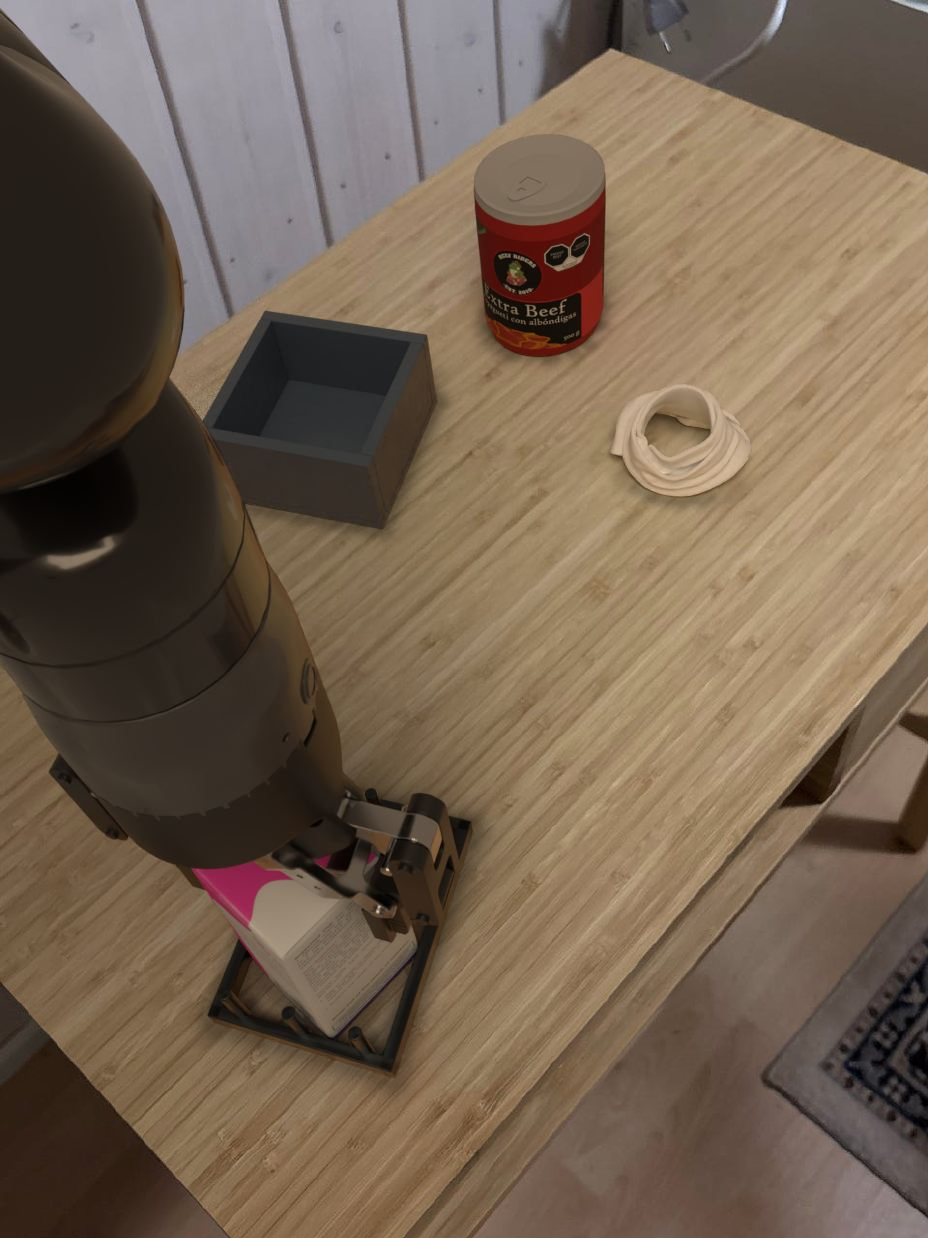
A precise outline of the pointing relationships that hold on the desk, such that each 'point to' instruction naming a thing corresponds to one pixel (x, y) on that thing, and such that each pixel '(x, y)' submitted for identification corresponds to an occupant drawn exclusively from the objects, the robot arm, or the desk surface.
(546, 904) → the desk surface
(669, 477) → the cream coiled cloth
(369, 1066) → the dish rack
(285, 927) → the supplement box
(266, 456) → the dark grey storage bin
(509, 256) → the canned food
